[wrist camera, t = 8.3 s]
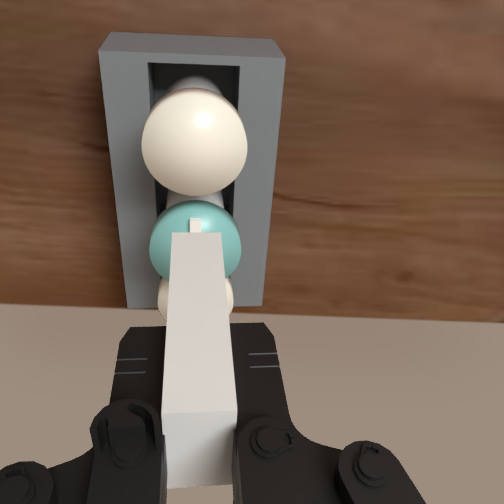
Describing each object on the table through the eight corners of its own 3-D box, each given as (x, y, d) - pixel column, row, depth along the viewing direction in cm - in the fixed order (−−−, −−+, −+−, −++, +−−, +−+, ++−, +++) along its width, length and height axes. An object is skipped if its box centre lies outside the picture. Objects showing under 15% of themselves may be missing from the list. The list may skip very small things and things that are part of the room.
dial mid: (158, 229, 32) (151, 292, 27) (154, 160, 30) (145, 216, 24) (231, 228, 33) (239, 290, 28) (234, 161, 30) (244, 215, 25)
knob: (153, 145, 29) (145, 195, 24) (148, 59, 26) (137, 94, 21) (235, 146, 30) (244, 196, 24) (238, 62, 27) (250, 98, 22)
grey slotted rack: (134, 268, 39) (127, 308, 35) (111, 31, 29) (98, 50, 25) (254, 266, 41) (261, 305, 37) (273, 39, 30) (285, 58, 26)
